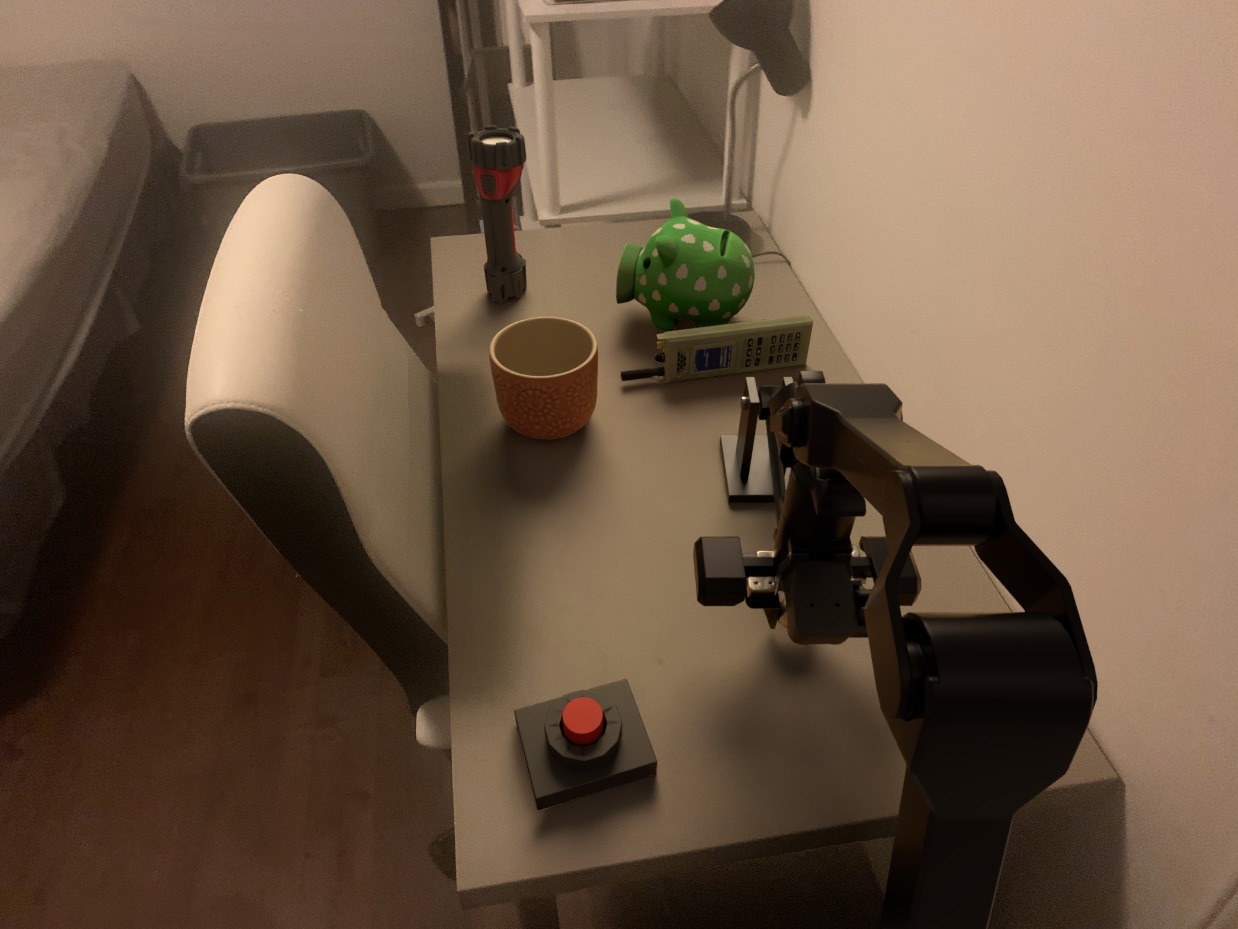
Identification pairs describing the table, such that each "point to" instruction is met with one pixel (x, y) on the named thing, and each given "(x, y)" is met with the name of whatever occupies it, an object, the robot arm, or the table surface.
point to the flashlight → (499, 206)
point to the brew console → (584, 747)
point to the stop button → (582, 721)
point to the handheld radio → (729, 349)
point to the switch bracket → (749, 454)
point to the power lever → (774, 470)
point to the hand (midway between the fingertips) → (789, 625)
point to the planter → (545, 376)
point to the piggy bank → (687, 273)
